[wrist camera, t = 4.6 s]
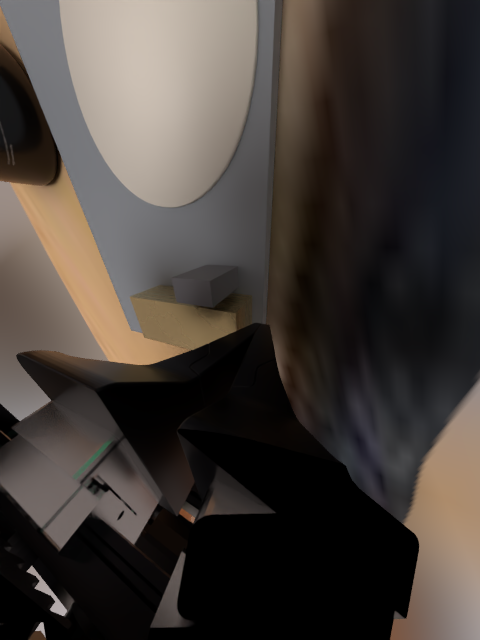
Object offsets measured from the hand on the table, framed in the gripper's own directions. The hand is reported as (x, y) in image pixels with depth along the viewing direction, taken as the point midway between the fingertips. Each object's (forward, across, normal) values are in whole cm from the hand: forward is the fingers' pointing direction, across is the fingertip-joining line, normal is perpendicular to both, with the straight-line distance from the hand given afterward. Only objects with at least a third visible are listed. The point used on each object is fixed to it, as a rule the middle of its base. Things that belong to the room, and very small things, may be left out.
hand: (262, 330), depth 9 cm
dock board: (+2, +7, -6) cm, 9 cm away
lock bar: (+1, +4, 0) cm, 5 cm away
